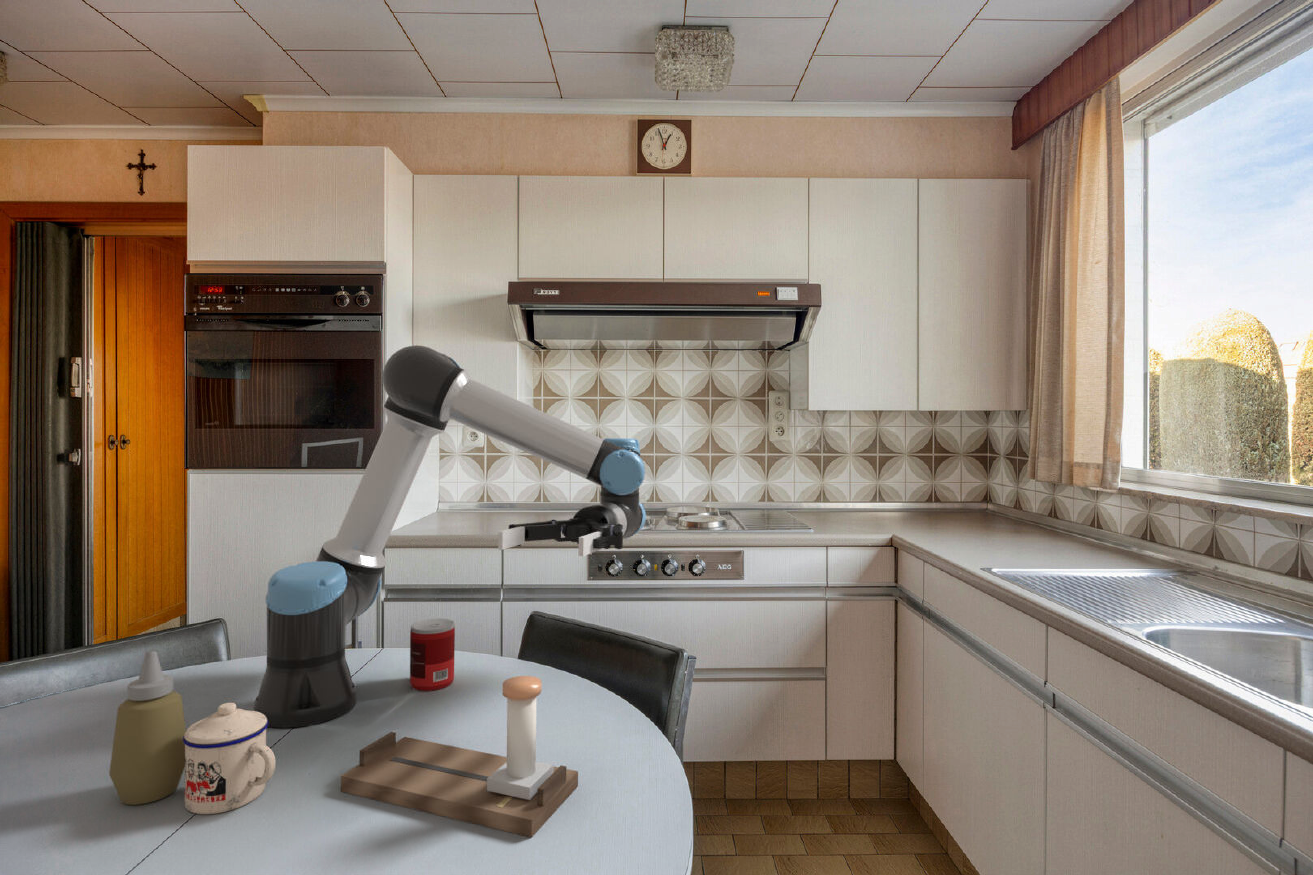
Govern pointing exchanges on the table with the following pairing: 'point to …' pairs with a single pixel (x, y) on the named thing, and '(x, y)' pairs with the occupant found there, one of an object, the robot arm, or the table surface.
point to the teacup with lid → (226, 760)
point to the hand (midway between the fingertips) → (539, 543)
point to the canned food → (432, 654)
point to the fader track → (452, 784)
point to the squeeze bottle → (148, 737)
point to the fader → (520, 742)
